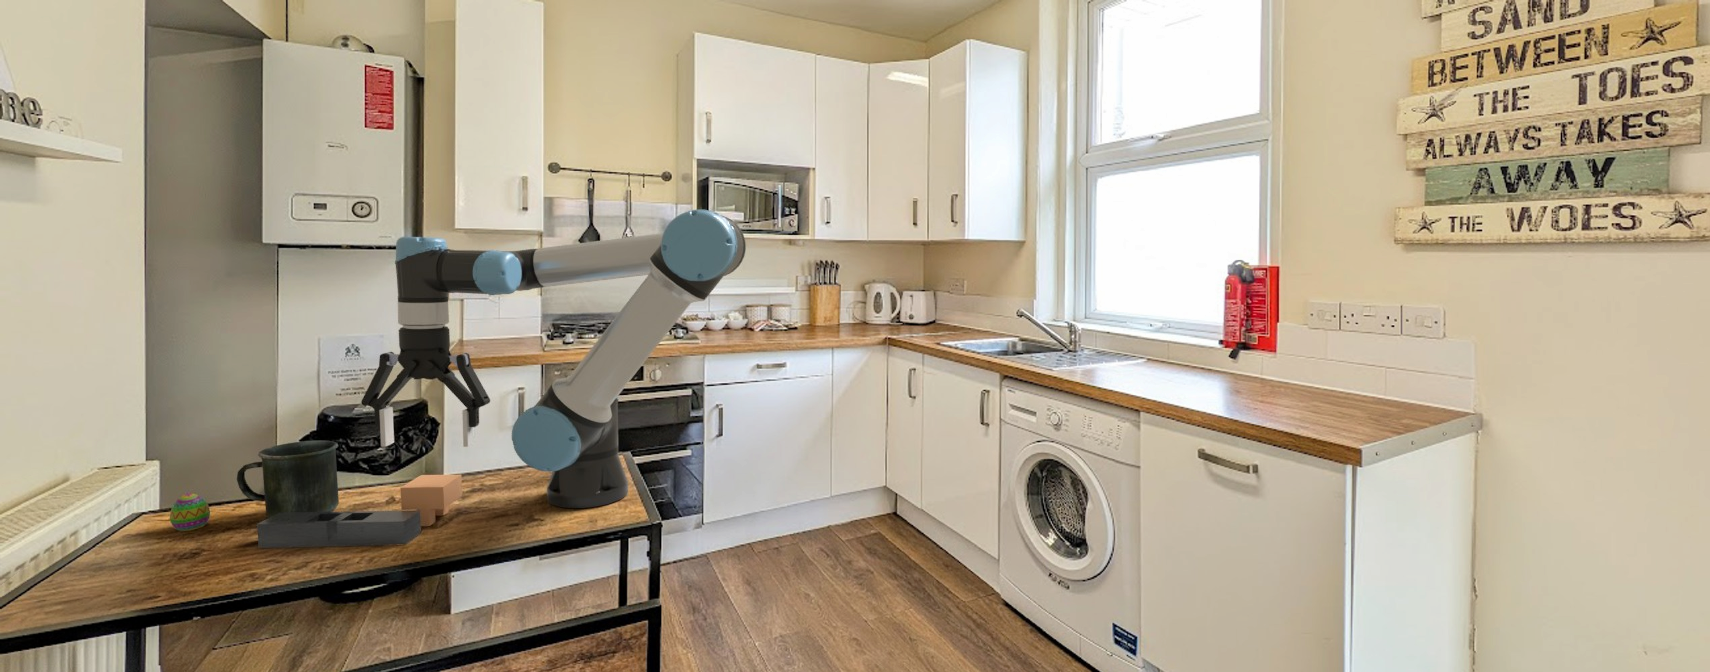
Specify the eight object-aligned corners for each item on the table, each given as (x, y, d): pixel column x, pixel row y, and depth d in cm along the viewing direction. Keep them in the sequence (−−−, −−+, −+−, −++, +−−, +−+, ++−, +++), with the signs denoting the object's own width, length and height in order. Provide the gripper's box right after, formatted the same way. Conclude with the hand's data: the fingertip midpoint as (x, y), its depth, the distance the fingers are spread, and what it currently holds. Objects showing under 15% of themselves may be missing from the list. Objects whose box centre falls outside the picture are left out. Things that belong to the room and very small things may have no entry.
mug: (333, 518, 123) (329, 453, 121) (228, 530, 116) (222, 461, 115) (348, 498, 132) (344, 438, 131) (252, 508, 126) (247, 445, 125)
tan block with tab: (422, 511, 126) (421, 475, 126) (462, 511, 127) (461, 474, 127) (402, 526, 120) (400, 487, 119) (445, 525, 120) (443, 487, 120)
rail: (421, 532, 117) (420, 510, 117) (405, 544, 112) (404, 521, 112) (280, 535, 115) (279, 512, 114) (258, 548, 110) (256, 524, 109)
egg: (217, 525, 118) (214, 491, 118) (181, 535, 114) (177, 500, 113) (201, 520, 120) (198, 487, 120) (164, 530, 116) (161, 496, 115)
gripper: (507, 325, 125) (510, 439, 127) (360, 322, 122) (365, 438, 124) (490, 329, 117) (493, 450, 120) (333, 326, 114) (339, 450, 117)
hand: (428, 444), depth 122 cm, fingers open, 13 cm apart
